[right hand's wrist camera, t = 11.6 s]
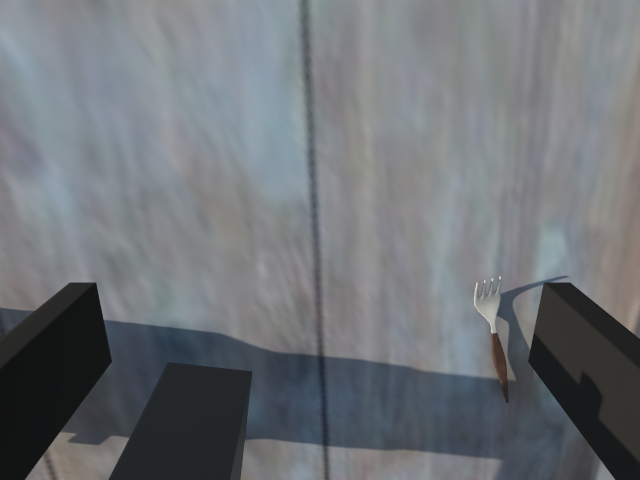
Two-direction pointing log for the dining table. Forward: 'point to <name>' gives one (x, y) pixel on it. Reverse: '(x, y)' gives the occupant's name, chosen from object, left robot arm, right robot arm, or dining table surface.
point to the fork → (493, 328)
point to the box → (190, 427)
